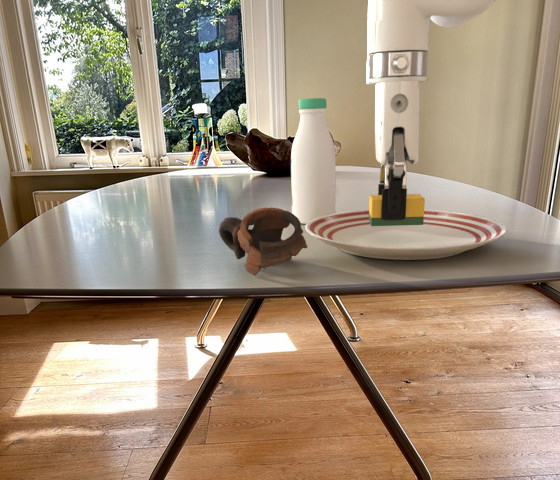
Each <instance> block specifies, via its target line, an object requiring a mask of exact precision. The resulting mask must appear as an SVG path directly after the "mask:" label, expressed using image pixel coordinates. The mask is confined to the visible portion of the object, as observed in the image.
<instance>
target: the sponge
mask: <svg viewBox="0 0 560 480" xmlns="http://www.w3.org/2000/svg"><path fill="white" fill-rule="evenodd" d="M368 196H369V197H368V198H369V199H368V201H369V202H368V204H369V205H368V209H369V221H370V224H371V226H401V225H423V221H424V217H423V216H424V209H425V201H426V199H425V197H424V196H423V195H421V194H420V193H407V198H406V217H405V219H404V220H383V219H382V218H381V208H382V195H378V194H370V195H368Z"/></svg>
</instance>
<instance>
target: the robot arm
mask: <svg viewBox="0 0 560 480" xmlns="http://www.w3.org/2000/svg"><path fill="white" fill-rule="evenodd" d="M367 2H368V4H367V49H366V55H367V56H366V85H375V97H374V99H375V100H374V148H375V149H374V150H375V159H376V161H377V162H378V163H379V164H380V167H379V183H378V187H377V190H378V191H377V195H382V208H381V218H382V219H383V220H404V219H405V217H406V198H407V194H408V189H407V166H408V165H407V163H408V164H410V165H412V166H413V165H416V164H417V163H418V162H419V156H420V153H419V152H420V83H424V82H427V72H428V56H429V55H428V52H429V35H430V22H432V23H434V24H435V25H437V26H439V27H442V28H447V29H449V28H451V29H452V28H457V27H460V26H462V25H464V24H466V23H467V22H469V21H471V20H473V19H475V18H477V17H478V16H480V15H482V14H483V13H485V12H486V11H487V10H488V9H489V8H491V6H492V5H493V4H494V3H495V2H496V0H368V1H367ZM430 20H431V21H430Z"/></svg>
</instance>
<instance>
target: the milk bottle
mask: <svg viewBox="0 0 560 480" xmlns="http://www.w3.org/2000/svg"><path fill="white" fill-rule="evenodd" d="M298 109H299V110H298V114H299V115H300V116H299V123H298V128H297V131H296V133H295V136H294V139H293V142H292V146H291V154H290V179H291V180H290V181H291V182H290V183H291V185H290V186H291V213H292V214H294V215H295V216H296V217H297V218H298V219H299V221H300V224H304V225H306V224H307V223H308V222H310V221H311V220H313V219H316V218H319V217H322V216H326V215H330V214H335V213H336V209H337V207H336V205H337V204H336V201H337V198H336V193H337V192H336V191H337V190H336V188H337V185H336V176H337V175H336V174H337V173H336V171H337V170H336V149H335V143H334V141H333V137H332V136H331V132H330V131H329V128H328V125H327V121H326V113H327V99H326V98H325V97H317V98H316V97H313V98H311V97H309V98H300V99H298Z"/></svg>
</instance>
